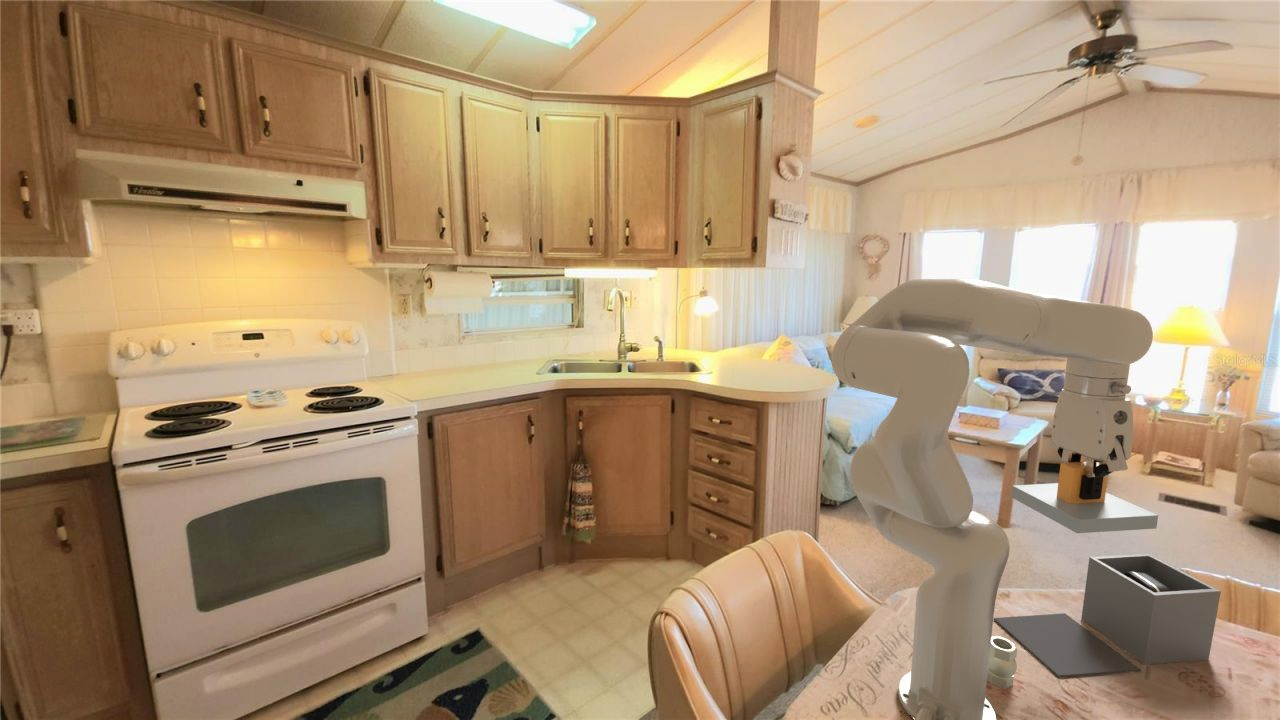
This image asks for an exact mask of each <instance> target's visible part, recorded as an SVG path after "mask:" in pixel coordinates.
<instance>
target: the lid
mask: <svg viewBox="0 0 1280 720" xmlns="http://www.w3.org/2000/svg"><path fill="white" fill-rule="evenodd" d="M1098 465H1099V462H1096V467H1097V466H1098ZM1059 467H1060V468H1059V474H1058V475H1059V476H1058V482H1054V483H1039V484H1038V483H1036V484H1035V483H1034V484H1032V483H1031V484H1019V485H1018V484H1017V485H1014V484H1013V485H1012V486H1011V496H1010V497H1011V498H1012V499H1014V500H1015V501H1017V502H1019V503H1021V504H1023V505H1025V506H1026V507H1028V508H1030V509H1032V510H1034V511H1036V512H1038V513H1040V514H1041V515H1043V516H1045V517H1046V518H1048V519H1051V521H1053V522H1055V523H1058V524H1059V525H1061V526H1063V527H1064V528H1066V529H1068V530H1070V531H1072V532H1074V533H1076V534H1089V533H1105V532H1106V533H1107V532H1123V531H1124V532H1125V531H1137V530H1138V531H1139V530H1141V531H1142V530H1154V529H1157V527H1158V519H1159V515H1158V514H1156V513H1154V512H1152V511H1150V510H1147V509H1145V508H1142V507H1141V506H1138V505H1135V504H1133V503H1131V502H1129V501H1127V500H1124V499H1122V498H1120V497H1117V496H1115V495H1112V494H1110V493H1109V492H1107V487H1108V486H1107V485H1108V479H1109V475H1108V476H1107V477H1103V485H1102V493H1101V498H1100V499H1090V500H1083V499H1081V498H1080V497H1079V496H1080V488H1081V480H1082V475H1086V461H1083V462H1070V463H1061V462H1060V466H1059Z"/></svg>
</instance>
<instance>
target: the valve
mask: <svg viewBox="0 0 1280 720" xmlns="http://www.w3.org/2000/svg"><path fill="white" fill-rule="evenodd" d="M1017 652H1018V648H1017V647H1016V646H1015V644H1014V643H1013V642H1011V640H1010V639H1007V638H1005V637H1002V636H996V635H993V636H991V646H990V656H989V666H988V676H987V682H989V683H990V684H991V685H992V686H995V687H998V688H1001V689H1004V690H1007V689H1009V688H1010V687H1012V686H1013V685H1014V683H1015V682H1014V679H1015V674H1016V673H1017V669H1018V665H1017V661H1016V658H1017V654H1018V653H1017Z"/></svg>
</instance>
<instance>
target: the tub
mask: <svg viewBox="0 0 1280 720" xmlns="http://www.w3.org/2000/svg"><path fill="white" fill-rule="evenodd" d="M1087 566H1088V567H1087V573H1086V582H1085V589H1084V597H1083V601H1082V602H1083V604H1082V612H1081V620H1082V621H1083V622H1085V623H1086V624H1087V625H1089V626H1090V627H1092V629H1095V631H1096V632H1098V633H1100V634H1101V635H1102V634H1103V636H1104V637H1105V638H1106V639H1108V640H1109V641H1111V642H1112V643H1113V644H1115V645H1117V646H1118V647H1119V648H1120V649H1122V650H1123V651H1124V652H1126V653H1127V654H1128V655H1130V656H1131V657H1132V658H1134V659H1136V660H1137V661H1138V662H1140V663H1141V664H1142V665H1143V666H1146V665H1158V664H1170V663H1185V662H1198V661H1199V662H1200V661H1209V660H1210V653H1211V650H1212V649H1211V648H1212V643H1213V637H1214V633H1215V631H1214V630H1215V627H1216V626H1215V625H1216V621H1217V616H1218V615H1217V614H1218V610H1219V603H1220V599H1221V594H1222V591H1221V590H1219V589H1217V588H1216V587H1213V586H1212V585H1210V584H1209V583H1207V582H1204V581H1202V580H1200V579H1198V577H1197V578H1196V577H1195V576H1192V575H1190V574H1188V573H1187V572H1185V571H1183V570H1181V569H1179V568H1177V567H1175V566H1173V565H1171V564H1170V563H1167V562H1165V561H1164V560H1161V559H1160V558H1158V557H1156V556H1155V555H1152V554H1150V553H1136V554H1120V555H1118V554H1116V555H1105V556H1103V555H1101V556H1089V558H1088V565H1087ZM1126 572H1141V573H1146V574H1148V575H1150V576H1151V577H1153V578H1155V579H1156V580H1158V581H1159V582H1161V583H1162V584H1164V585H1165V586H1167V587H1168V588H1169V589H1170V590H1171V591H1169V592H1153V591H1151V590H1149V589H1148V588H1146V587H1144V586H1142V585H1141V584H1139V583H1137V582H1136V581H1134V580H1132V579H1130V578H1129V577H1127V576H1125V575H1123V574H1124V573H1126Z"/></svg>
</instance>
